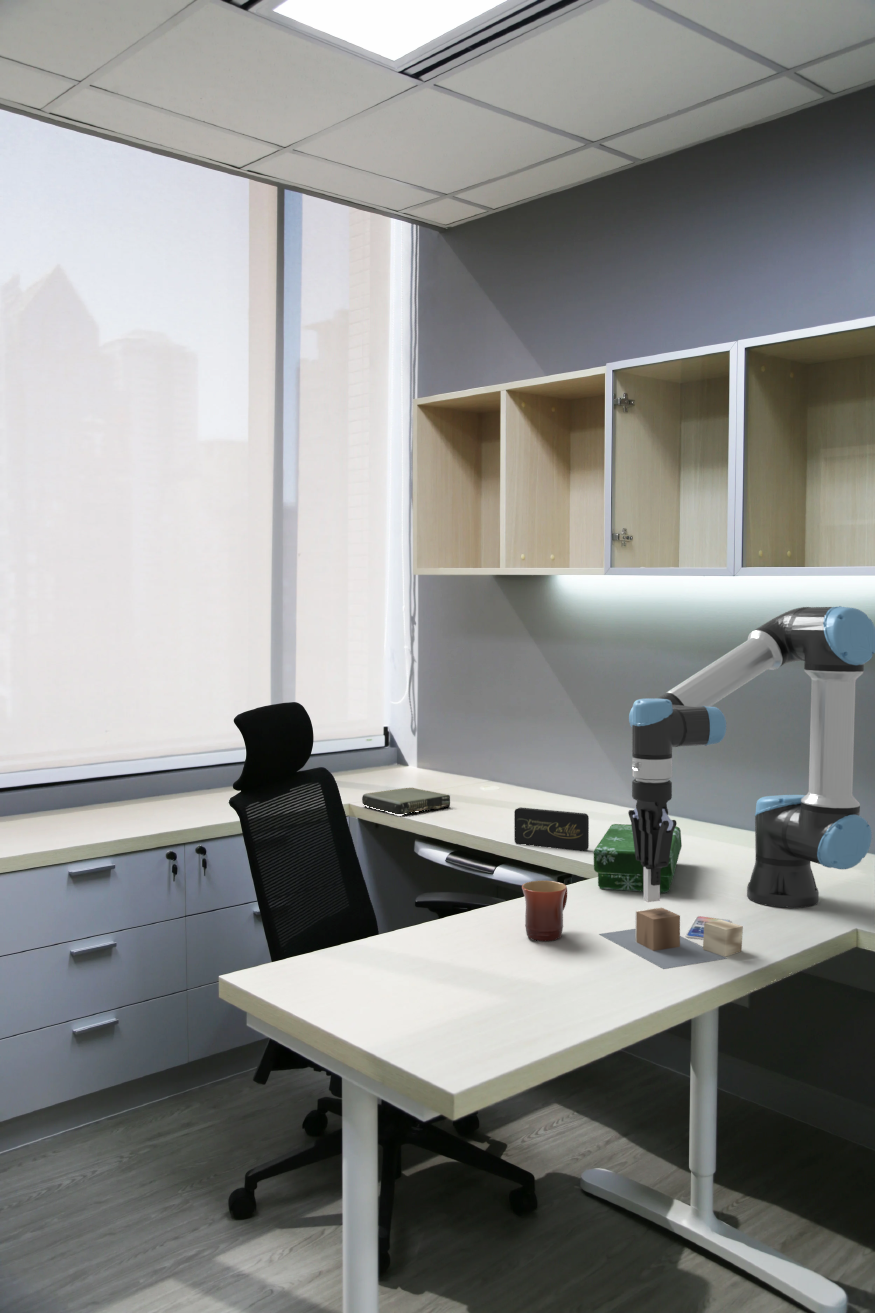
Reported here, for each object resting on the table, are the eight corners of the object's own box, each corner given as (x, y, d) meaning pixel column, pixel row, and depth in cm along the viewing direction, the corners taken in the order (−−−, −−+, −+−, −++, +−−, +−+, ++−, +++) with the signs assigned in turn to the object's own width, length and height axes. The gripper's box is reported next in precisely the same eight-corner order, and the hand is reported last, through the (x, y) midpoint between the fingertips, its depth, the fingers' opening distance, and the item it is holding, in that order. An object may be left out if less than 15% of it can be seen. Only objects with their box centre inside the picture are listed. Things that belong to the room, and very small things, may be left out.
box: (673, 897, 236) (673, 853, 236) (592, 891, 242) (592, 848, 241) (682, 864, 266) (682, 825, 266) (610, 859, 272) (610, 821, 271)
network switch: (405, 819, 326) (405, 803, 326) (354, 810, 342) (354, 794, 342) (455, 808, 343) (455, 793, 343) (405, 800, 359) (404, 785, 359)
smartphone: (732, 920, 216) (722, 941, 202) (732, 924, 216) (722, 946, 203) (696, 915, 219) (683, 935, 205) (696, 919, 219) (683, 940, 205)
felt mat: (658, 927, 213) (657, 925, 213) (727, 960, 193) (727, 958, 193) (598, 935, 208) (598, 934, 208) (663, 970, 188) (663, 969, 188)
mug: (550, 947, 201) (550, 894, 200) (513, 939, 206) (513, 887, 206) (583, 932, 210) (583, 881, 210) (547, 924, 216) (546, 875, 215)
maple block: (719, 945, 201) (721, 919, 201) (741, 952, 197) (742, 926, 197) (702, 949, 198) (704, 923, 198) (724, 956, 194) (726, 929, 194)
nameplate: (514, 844, 290) (514, 808, 289) (517, 842, 291) (517, 807, 291) (586, 852, 280) (586, 815, 279) (588, 850, 281) (588, 813, 281)
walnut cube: (661, 907, 205) (680, 915, 199) (661, 937, 205) (679, 946, 200) (635, 911, 203) (653, 919, 197) (635, 941, 203) (653, 951, 197)
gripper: (616, 775, 206) (616, 894, 207) (655, 785, 194) (654, 911, 195) (649, 773, 209) (648, 890, 210) (688, 783, 197) (688, 907, 198)
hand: (651, 900), depth 203 cm, fingers closed
